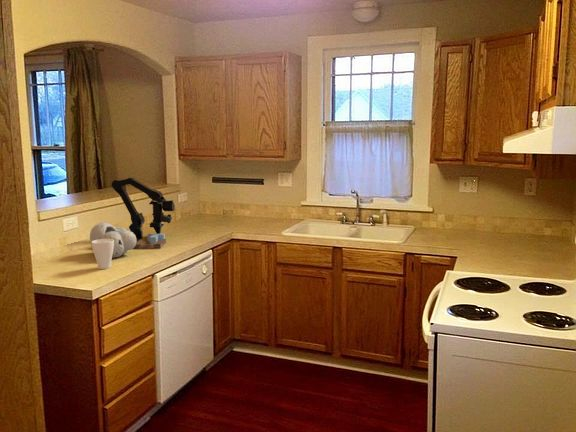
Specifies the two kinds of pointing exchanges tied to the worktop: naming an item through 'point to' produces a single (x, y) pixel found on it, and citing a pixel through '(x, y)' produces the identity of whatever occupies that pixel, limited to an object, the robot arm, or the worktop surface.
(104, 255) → the cup
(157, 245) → the dock
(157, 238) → the t block
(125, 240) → the grey lobed sculpture
